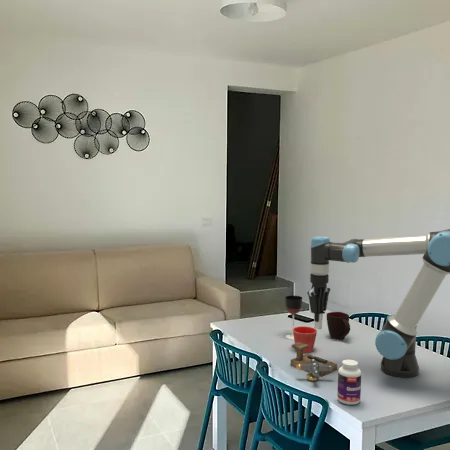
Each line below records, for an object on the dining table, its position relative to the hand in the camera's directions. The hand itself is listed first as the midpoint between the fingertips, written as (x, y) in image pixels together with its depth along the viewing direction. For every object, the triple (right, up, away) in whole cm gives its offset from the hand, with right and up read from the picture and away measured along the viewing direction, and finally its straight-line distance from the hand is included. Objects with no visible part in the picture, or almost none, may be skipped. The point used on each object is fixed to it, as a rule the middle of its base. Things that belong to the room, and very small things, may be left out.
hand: (318, 328), depth 214 cm
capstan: (-4, -18, -13) cm, 22 cm away
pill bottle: (+5, -20, -31) cm, 37 cm away
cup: (+17, -13, +37) cm, 42 cm away
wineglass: (-5, -13, +40) cm, 42 cm away
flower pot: (-2, -15, +21) cm, 26 cm away
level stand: (-2, -16, 0) cm, 17 cm away
